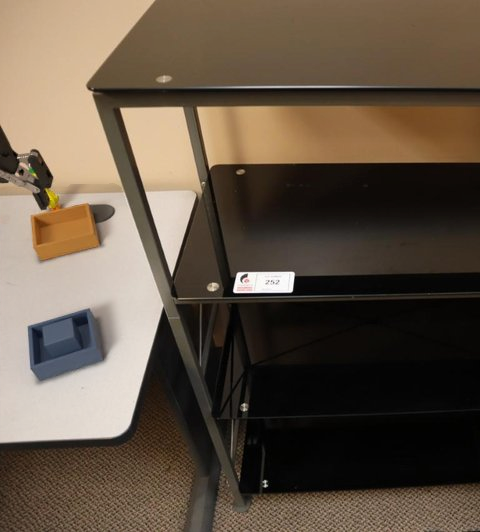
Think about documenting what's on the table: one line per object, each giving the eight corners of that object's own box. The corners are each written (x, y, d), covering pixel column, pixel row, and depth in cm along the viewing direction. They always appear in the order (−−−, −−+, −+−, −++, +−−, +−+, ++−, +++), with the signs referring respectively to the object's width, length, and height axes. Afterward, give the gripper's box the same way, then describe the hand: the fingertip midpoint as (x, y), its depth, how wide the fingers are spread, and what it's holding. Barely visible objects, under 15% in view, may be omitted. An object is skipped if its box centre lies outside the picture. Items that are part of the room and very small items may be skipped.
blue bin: (36, 338, 90) (27, 326, 87) (96, 320, 94) (89, 307, 91) (39, 381, 84) (30, 369, 82) (103, 360, 88) (96, 347, 85)
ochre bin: (37, 228, 109) (30, 215, 107) (93, 215, 113) (87, 202, 111) (40, 260, 103) (33, 247, 100) (100, 245, 107) (94, 233, 104)
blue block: (52, 342, 89) (42, 326, 86) (80, 333, 91) (71, 317, 88) (55, 361, 86) (44, 345, 83) (83, 351, 88) (74, 336, 85)
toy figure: (49, 200, 116) (25, 155, 107) (67, 198, 117) (45, 153, 108) (45, 219, 111) (20, 173, 103) (63, 217, 112) (40, 171, 104)
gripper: (27, 106, 78) (66, 191, 89) (-86, 112, 74) (-30, 201, 85) (17, 132, 73) (60, 219, 84) (-105, 140, 69) (-42, 230, 80)
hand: (15, 210), depth 85 cm, fingers open, 8 cm apart
